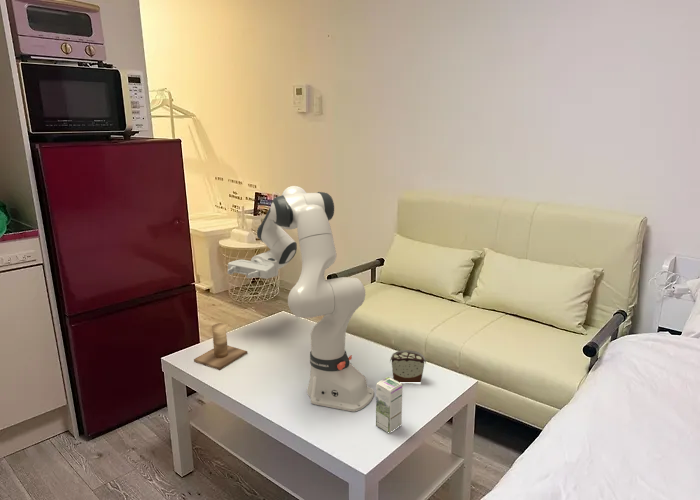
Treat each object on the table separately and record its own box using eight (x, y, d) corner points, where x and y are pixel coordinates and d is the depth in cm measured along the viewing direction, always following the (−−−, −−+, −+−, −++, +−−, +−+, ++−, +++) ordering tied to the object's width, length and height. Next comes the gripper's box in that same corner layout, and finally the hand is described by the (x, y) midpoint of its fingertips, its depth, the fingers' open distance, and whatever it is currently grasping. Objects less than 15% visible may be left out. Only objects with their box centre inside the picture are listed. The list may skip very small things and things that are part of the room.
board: (247, 353, 196) (247, 351, 195) (220, 370, 183) (219, 367, 183) (222, 346, 202) (222, 343, 202) (194, 361, 189) (193, 359, 189)
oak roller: (230, 353, 193) (228, 324, 190) (221, 359, 189) (219, 329, 186) (220, 350, 195) (218, 322, 192) (211, 356, 191) (209, 327, 188)
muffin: (424, 375, 179) (425, 350, 177) (425, 384, 174) (426, 358, 171) (389, 374, 181) (390, 348, 178) (389, 382, 175) (389, 356, 172)
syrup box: (402, 426, 151) (403, 382, 147) (389, 434, 147) (390, 390, 143) (387, 418, 155) (389, 375, 151) (374, 426, 151) (375, 382, 147)
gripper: (241, 254, 210) (217, 262, 199) (280, 261, 201) (258, 270, 189) (241, 268, 212) (218, 277, 200) (281, 276, 202) (259, 286, 191)
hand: (238, 274), depth 195 cm, fingers open, 8 cm apart
